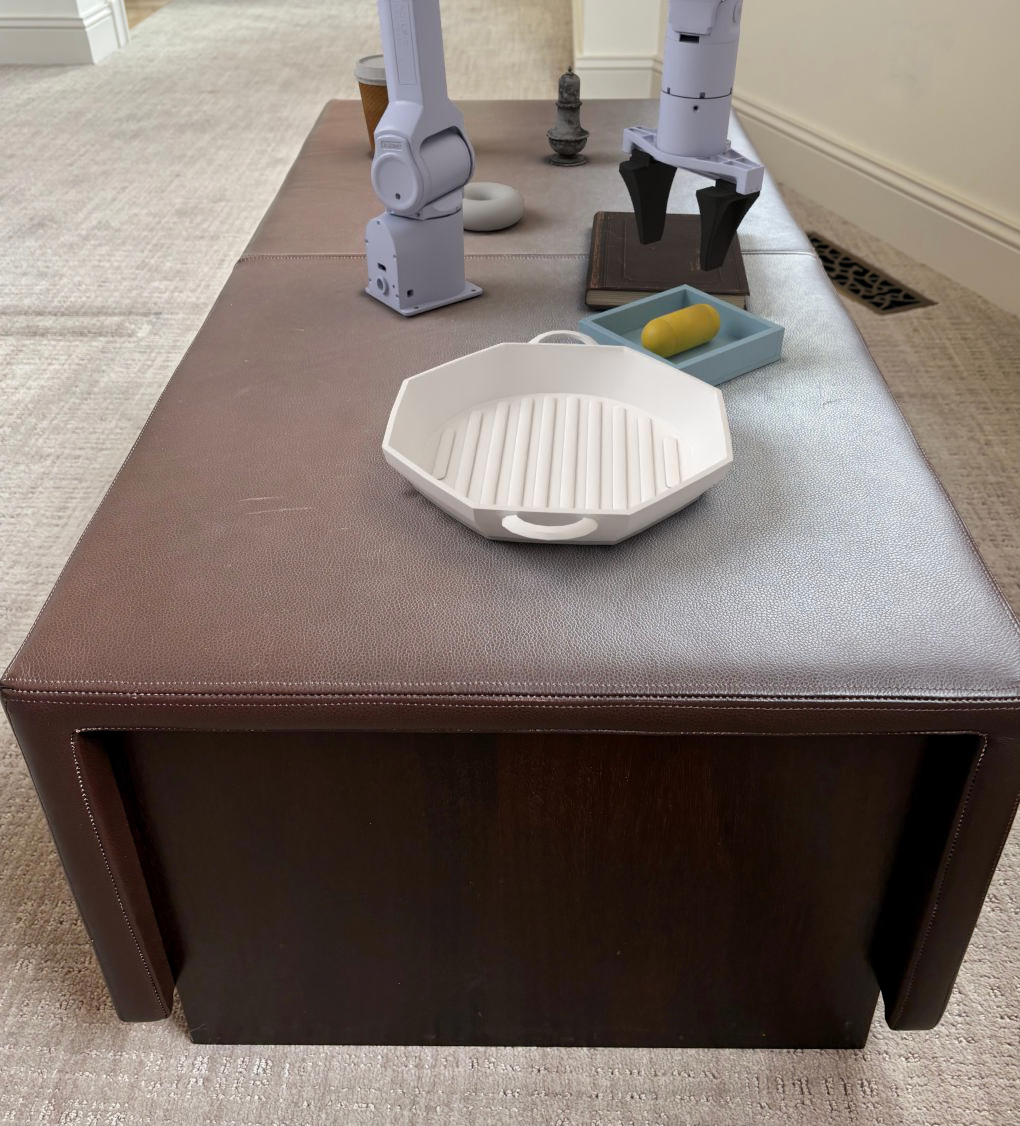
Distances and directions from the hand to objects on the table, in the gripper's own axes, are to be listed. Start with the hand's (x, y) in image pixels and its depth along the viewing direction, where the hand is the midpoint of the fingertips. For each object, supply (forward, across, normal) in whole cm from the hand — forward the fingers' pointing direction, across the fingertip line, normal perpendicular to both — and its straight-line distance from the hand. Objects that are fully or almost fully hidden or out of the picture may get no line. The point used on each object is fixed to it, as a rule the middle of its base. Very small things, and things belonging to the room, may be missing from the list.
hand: (680, 254), depth 94 cm
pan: (+9, -9, +21) cm, 25 cm away
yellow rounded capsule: (+8, -1, 0) cm, 9 cm away
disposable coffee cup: (+10, +68, -12) cm, 69 cm away
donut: (+9, +39, -6) cm, 40 cm away
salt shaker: (+9, +51, -29) cm, 59 cm away
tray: (+9, -1, 0) cm, 9 cm away
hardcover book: (+9, +14, -13) cm, 21 cm away
